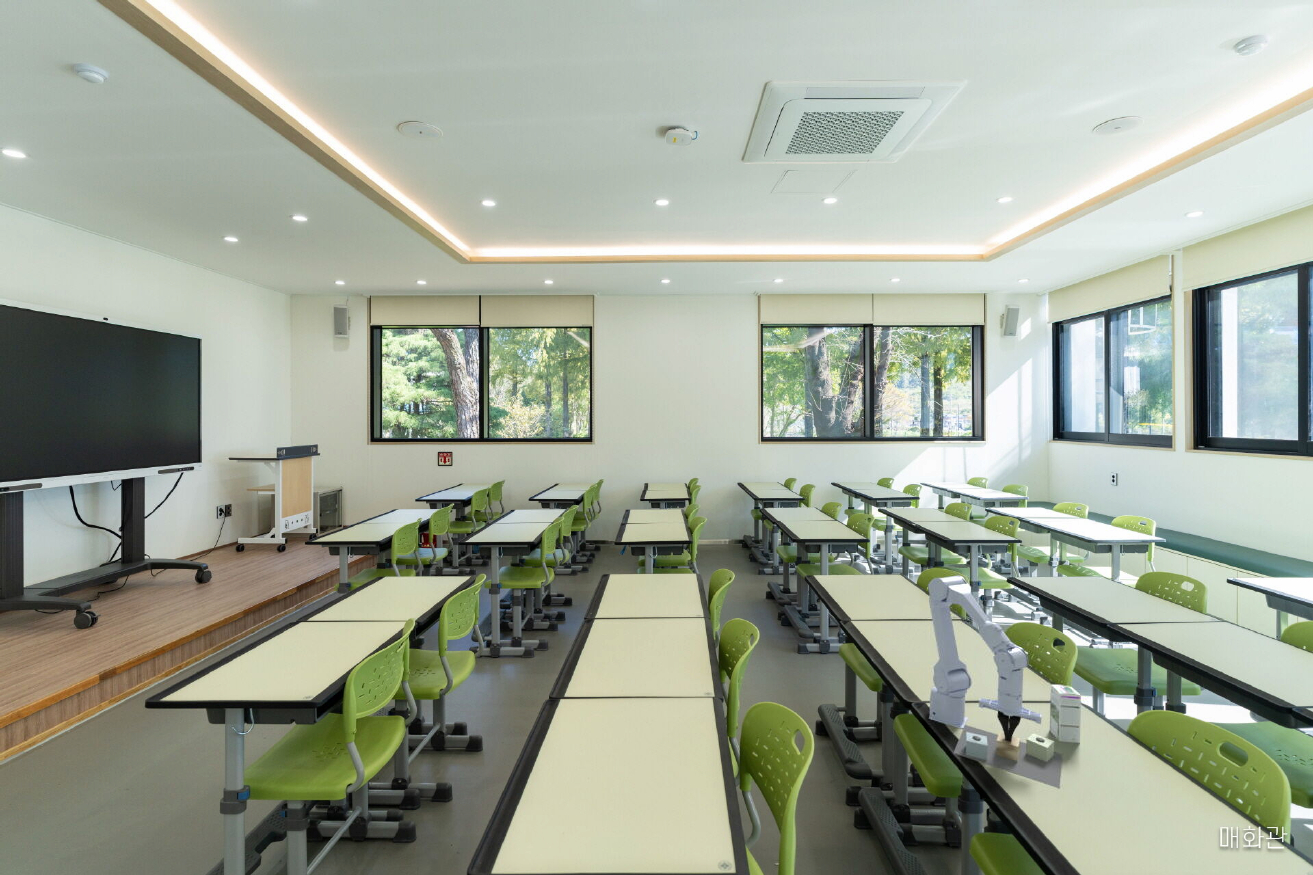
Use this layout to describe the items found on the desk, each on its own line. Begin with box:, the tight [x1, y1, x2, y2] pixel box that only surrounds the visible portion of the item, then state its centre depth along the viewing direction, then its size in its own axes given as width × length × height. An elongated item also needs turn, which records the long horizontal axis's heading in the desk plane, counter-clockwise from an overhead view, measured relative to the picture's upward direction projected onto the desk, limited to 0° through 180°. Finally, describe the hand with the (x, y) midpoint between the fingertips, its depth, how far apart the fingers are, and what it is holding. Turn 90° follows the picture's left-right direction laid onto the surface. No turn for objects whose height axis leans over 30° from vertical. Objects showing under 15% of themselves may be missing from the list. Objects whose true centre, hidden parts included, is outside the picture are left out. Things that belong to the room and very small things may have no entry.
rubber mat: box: [953, 724, 1063, 789], centre depth 157 cm, size 24×18×1 cm
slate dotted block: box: [966, 732, 988, 760], centre depth 157 cm, size 5×5×4 cm
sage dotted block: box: [1025, 733, 1055, 762], centre depth 157 cm, size 5×5×4 cm
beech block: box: [996, 732, 1021, 761], centre depth 157 cm, size 5×5×4 cm
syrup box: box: [1049, 684, 1082, 744], centre depth 165 cm, size 6×6×14 cm
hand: (1008, 739), depth 157 cm, fingers closed, pressing on beech block
